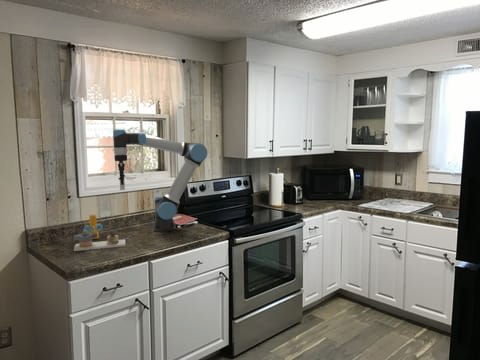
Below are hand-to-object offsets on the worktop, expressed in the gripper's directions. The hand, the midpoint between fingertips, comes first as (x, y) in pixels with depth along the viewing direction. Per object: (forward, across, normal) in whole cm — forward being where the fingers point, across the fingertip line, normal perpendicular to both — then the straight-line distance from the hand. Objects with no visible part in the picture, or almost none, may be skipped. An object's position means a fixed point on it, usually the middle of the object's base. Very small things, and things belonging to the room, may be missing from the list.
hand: (122, 188), depth 237 cm
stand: (+30, +13, -7) cm, 34 cm away
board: (+32, +13, -14) cm, 37 cm away
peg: (+31, +13, -22) cm, 40 cm away
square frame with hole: (+26, +13, -22) cm, 37 cm away
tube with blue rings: (+32, -7, -19) cm, 38 cm away
